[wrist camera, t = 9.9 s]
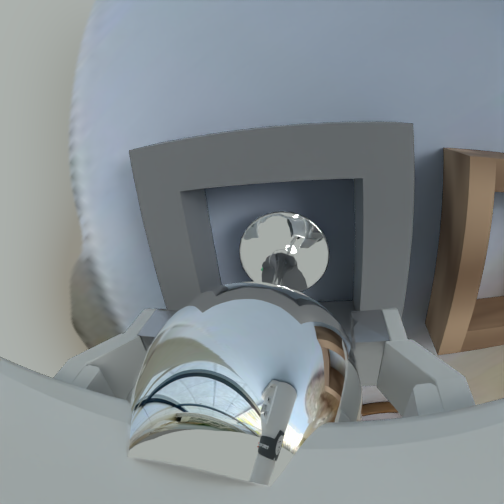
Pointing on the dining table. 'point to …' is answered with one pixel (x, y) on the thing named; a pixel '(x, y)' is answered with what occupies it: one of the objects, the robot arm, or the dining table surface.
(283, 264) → the wineglass
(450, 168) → the wooden square frame
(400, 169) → the frame
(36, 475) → the robot arm
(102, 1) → the dining table surface
